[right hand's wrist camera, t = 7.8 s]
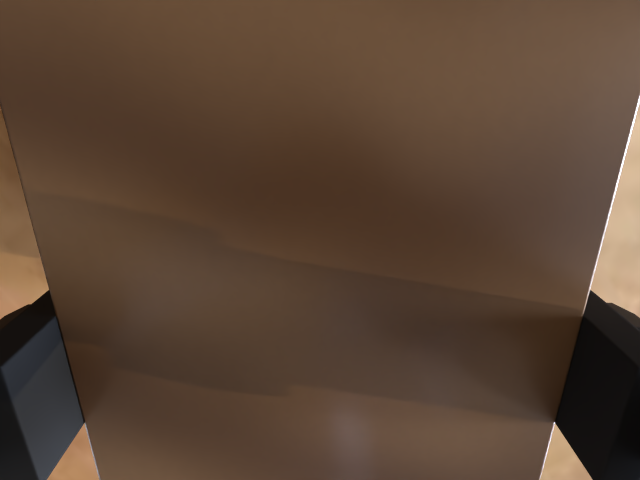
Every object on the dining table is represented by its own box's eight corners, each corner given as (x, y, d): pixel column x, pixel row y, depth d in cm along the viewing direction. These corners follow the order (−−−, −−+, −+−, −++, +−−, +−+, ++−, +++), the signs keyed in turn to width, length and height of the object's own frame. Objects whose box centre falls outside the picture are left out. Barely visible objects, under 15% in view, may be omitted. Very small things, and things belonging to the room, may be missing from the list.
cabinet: (171, -162, 15) (-248, -815, 4) (467, -162, 15) (884, -812, 4) (216, 288, 21) (108, 518, 10) (422, 288, 21) (531, 517, 10)
